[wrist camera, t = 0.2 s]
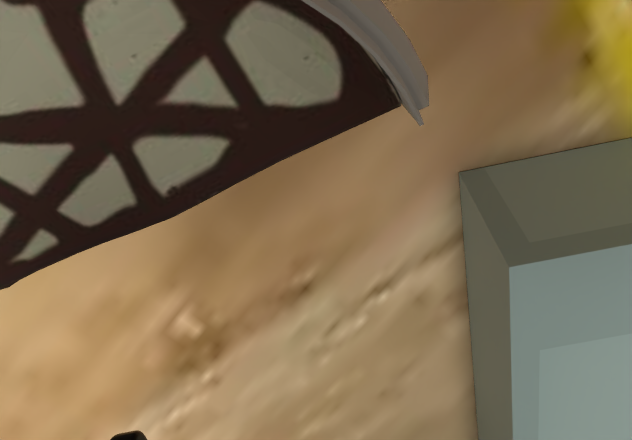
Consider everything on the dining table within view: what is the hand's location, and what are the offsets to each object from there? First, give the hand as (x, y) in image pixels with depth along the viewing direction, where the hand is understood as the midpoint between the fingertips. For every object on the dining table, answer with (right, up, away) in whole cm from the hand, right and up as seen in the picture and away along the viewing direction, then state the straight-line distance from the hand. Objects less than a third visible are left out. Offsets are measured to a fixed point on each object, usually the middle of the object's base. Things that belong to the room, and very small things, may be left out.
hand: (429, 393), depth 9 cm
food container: (-7, +10, +10) cm, 16 cm away
